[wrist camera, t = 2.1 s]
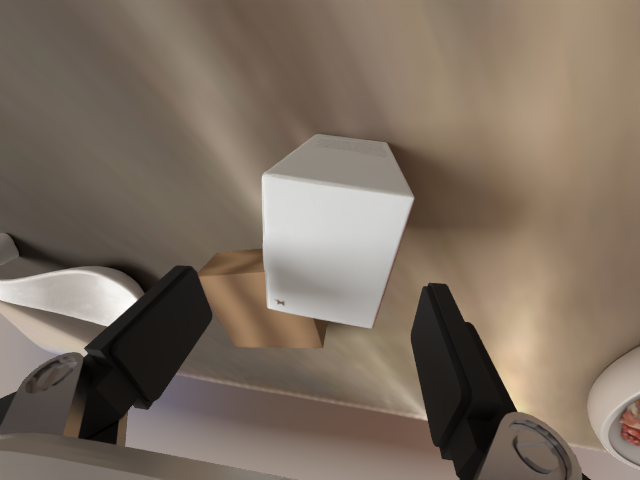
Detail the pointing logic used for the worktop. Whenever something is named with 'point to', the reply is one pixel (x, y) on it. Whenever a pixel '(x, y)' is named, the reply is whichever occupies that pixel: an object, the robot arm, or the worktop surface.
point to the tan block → (254, 304)
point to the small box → (333, 228)
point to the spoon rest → (71, 289)
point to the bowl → (618, 408)
